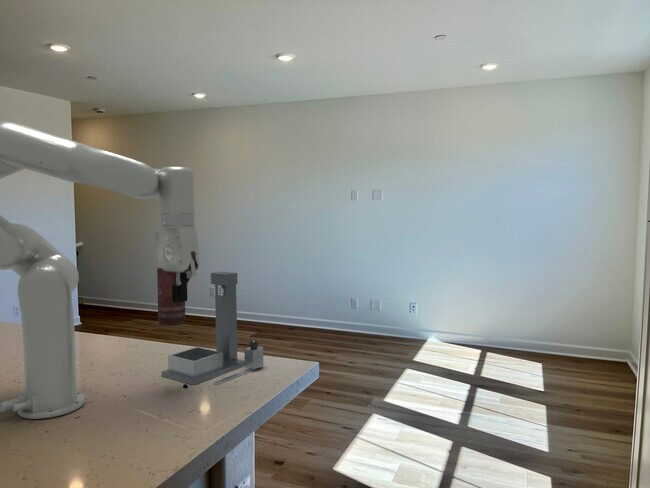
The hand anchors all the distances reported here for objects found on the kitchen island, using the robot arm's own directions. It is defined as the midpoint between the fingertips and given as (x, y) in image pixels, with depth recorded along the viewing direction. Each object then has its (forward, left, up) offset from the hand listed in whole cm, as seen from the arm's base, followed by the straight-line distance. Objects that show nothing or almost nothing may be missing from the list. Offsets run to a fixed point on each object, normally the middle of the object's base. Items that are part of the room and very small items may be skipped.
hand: (179, 301), depth 109 cm
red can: (0, +3, -6) cm, 6 cm away
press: (+13, +6, -21) cm, 25 cm away
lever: (+21, -4, -21) cm, 30 cm away
